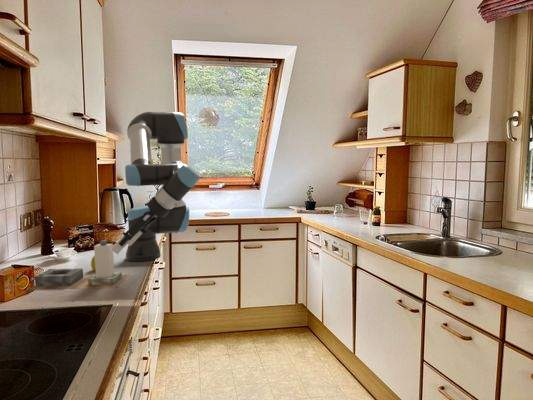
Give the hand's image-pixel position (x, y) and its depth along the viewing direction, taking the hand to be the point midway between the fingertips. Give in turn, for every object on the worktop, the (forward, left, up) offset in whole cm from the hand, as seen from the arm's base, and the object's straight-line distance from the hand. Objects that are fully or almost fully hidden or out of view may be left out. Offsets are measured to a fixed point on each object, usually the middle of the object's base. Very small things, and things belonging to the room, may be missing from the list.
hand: (121, 247), depth 146 cm
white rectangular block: (+3, -6, -12) cm, 14 cm away
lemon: (-4, -23, -14) cm, 27 cm away
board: (+8, -12, -14) cm, 20 cm away
